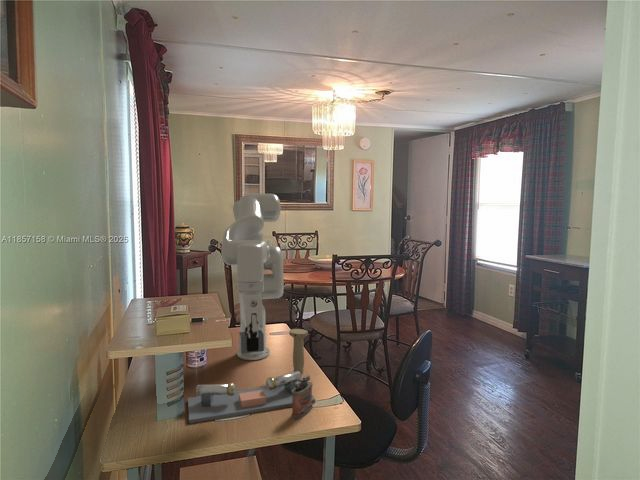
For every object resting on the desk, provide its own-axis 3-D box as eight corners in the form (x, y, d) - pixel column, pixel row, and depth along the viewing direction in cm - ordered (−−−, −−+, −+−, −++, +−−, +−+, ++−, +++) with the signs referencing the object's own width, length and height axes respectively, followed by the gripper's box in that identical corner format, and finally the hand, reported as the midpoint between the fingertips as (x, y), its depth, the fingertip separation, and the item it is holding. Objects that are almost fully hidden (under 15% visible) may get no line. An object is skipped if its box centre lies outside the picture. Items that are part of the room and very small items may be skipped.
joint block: (239, 348, 121) (238, 330, 120) (261, 346, 123) (260, 328, 123) (241, 353, 117) (240, 334, 117) (263, 351, 119) (263, 332, 119)
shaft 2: (271, 402, 123) (271, 381, 122) (265, 397, 126) (265, 376, 126) (302, 393, 129) (302, 372, 128) (295, 388, 132) (295, 368, 132)
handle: (303, 377, 140) (303, 334, 139) (287, 374, 143) (286, 332, 141) (309, 372, 145) (309, 330, 143) (293, 368, 147) (293, 328, 146)
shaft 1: (235, 402, 123) (235, 380, 123) (233, 409, 119) (233, 386, 119) (198, 403, 123) (198, 381, 122) (195, 410, 119) (195, 387, 118)
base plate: (188, 401, 124) (187, 391, 124) (302, 383, 136) (302, 375, 135) (189, 423, 112) (188, 413, 111) (315, 402, 123) (315, 392, 123)
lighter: (298, 420, 114) (298, 385, 113) (289, 416, 115) (288, 382, 114) (315, 407, 120) (315, 374, 119) (305, 404, 122) (305, 372, 121)
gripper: (269, 291, 112) (270, 356, 113) (258, 280, 127) (259, 337, 129) (241, 293, 109) (242, 360, 111) (233, 281, 125) (234, 340, 127)
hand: (251, 347), depth 120 cm, fingers closed on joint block, 4 cm apart
